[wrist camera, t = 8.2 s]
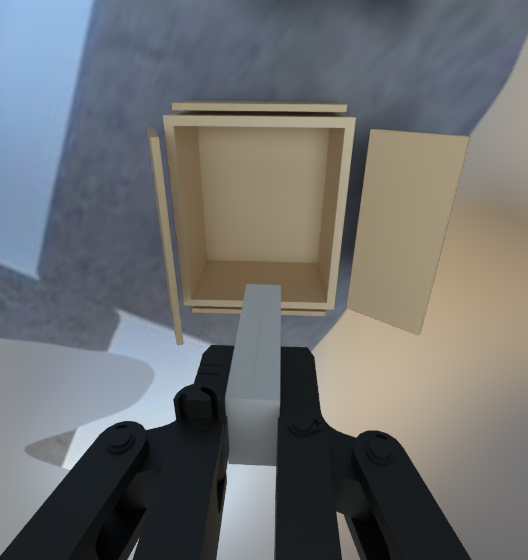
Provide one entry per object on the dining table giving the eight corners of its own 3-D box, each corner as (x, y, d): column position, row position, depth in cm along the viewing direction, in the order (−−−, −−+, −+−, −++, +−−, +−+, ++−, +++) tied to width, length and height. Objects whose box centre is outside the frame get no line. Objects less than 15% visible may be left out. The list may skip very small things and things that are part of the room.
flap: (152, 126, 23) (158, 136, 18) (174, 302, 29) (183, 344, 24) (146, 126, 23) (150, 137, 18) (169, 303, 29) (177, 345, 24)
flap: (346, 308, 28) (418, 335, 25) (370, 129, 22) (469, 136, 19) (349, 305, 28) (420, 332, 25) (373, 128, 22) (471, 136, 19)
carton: (203, 269, 37) (184, 312, 30) (189, 98, 30) (161, 102, 22) (322, 272, 36) (332, 316, 29) (338, 100, 29) (357, 104, 22)
